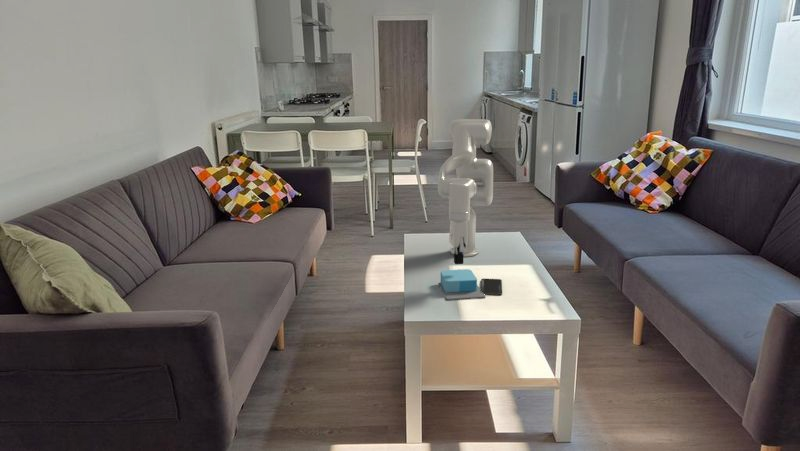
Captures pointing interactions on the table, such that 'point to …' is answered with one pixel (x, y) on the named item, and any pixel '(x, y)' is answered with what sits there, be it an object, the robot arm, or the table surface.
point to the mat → (462, 294)
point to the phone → (491, 287)
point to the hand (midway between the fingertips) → (458, 263)
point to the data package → (458, 280)
